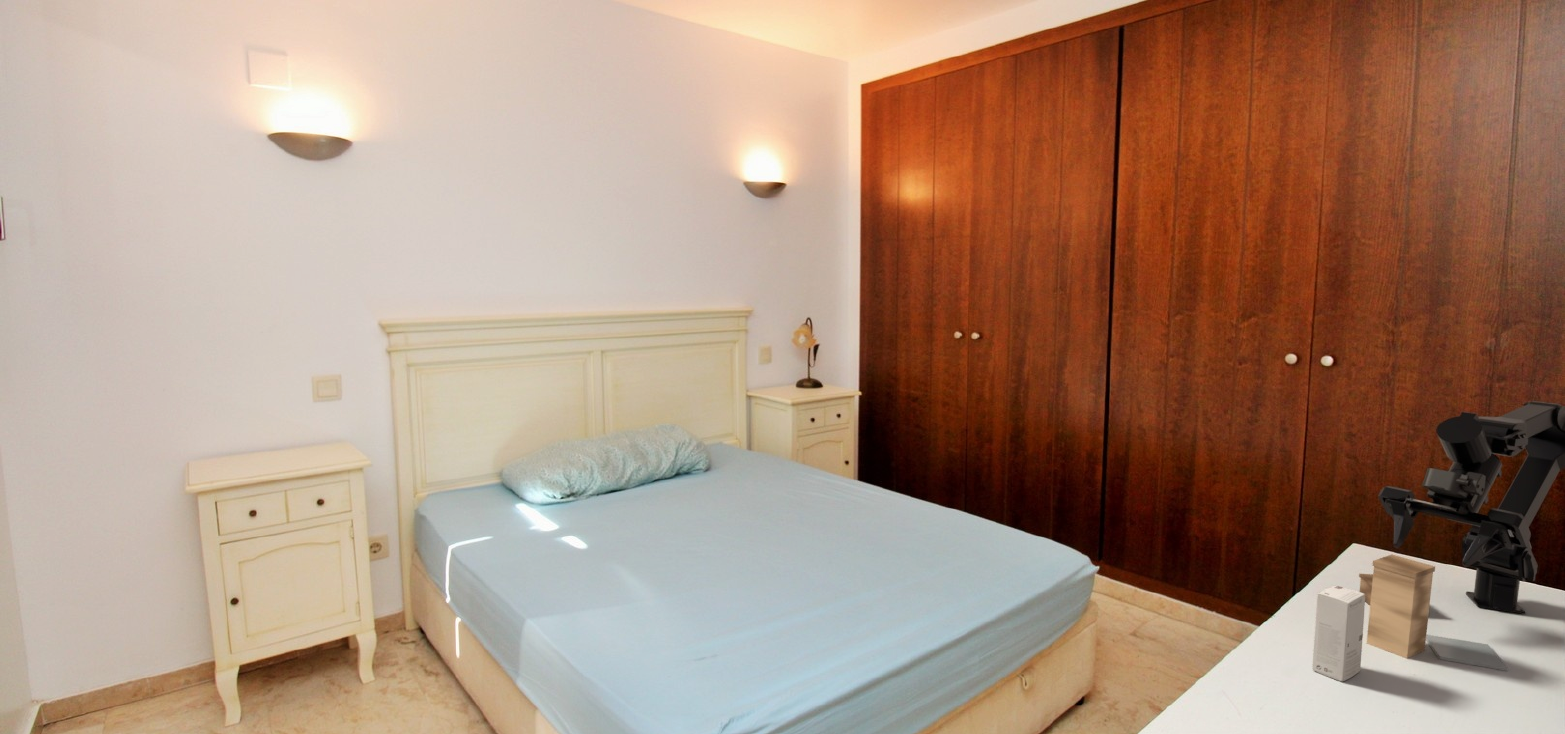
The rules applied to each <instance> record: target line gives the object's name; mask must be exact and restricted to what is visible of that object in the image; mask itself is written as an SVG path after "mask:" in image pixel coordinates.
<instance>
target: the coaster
mask: <svg viewBox="0 0 1565 734" xmlns="http://www.w3.org/2000/svg"><path fill="white" fill-rule="evenodd" d="M1426 643H1427V644H1428V645H1429V646H1430V649H1432V651H1433V652H1434V654H1435V656H1437V658H1438V659H1439V660H1443V661H1449V662H1454V663H1461V664H1466V665H1471V666H1478V667H1483V668H1489V669H1495V670H1500V671H1501V670H1502V671H1506V672H1507V671H1508V666H1507V665H1506V663H1505V662H1504V661H1503V660H1502V659H1501V658H1500V657H1499V656H1498V654H1496V652H1495V651H1494V650H1493V649H1492V648H1491V647H1490V645H1489V644H1487V643H1483V642H1476V641H1469V640H1465V639H1458V638H1457V639H1456V638H1450V637H1443V636H1438V635H1431V634H1428V633H1426Z"/></svg>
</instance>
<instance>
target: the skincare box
mask: <svg viewBox="0 0 1565 734" xmlns="http://www.w3.org/2000/svg"><path fill="white" fill-rule="evenodd" d="M1316 597H1317V598H1316V611H1315V623H1314V624H1315V625H1314V637H1313V638H1314V639H1313V649H1312V651H1313V653H1312V664H1311V665H1312V666H1311V667H1312V671H1314V672H1315V673H1318V674H1321V675H1322V676H1325V677H1329V679H1334V680H1336V681H1338V682H1345V681H1347V680H1349V679H1351V678H1353V677H1354V676H1356V675H1357V674H1359V672H1360V671H1361V663H1362V652H1363V650H1362V649H1363V638H1364V637H1363V636H1364V622H1365V606H1366V605H1365V603H1366V602H1365V594H1364V593H1361V592H1360V591H1359V590H1358V591H1357V590H1353V589H1349V588H1346V587H1342V586H1340V585H1339V586H1338V585H1333V586H1330V587H1327V588H1325V589H1323V590H1322V591H1321V592H1318V593H1317V596H1316Z"/></svg>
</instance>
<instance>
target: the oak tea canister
mask: <svg viewBox="0 0 1565 734" xmlns="http://www.w3.org/2000/svg"><path fill="white" fill-rule="evenodd" d="M1371 566H1372V567H1373V573H1372V574H1373V582H1372V592H1371V603H1370V605H1369V614H1368V624H1367V625H1368V626H1367V635H1366V644H1367V645H1370V646H1373V647H1374V648H1378V649H1381V650H1383V651H1386V652H1389V653H1391V654H1394V655H1396V656H1399V657H1402V658H1405V659H1409V658H1411V657H1413V656H1415V655H1417V654H1420V653H1422V652H1424V651H1425V650H1426V643H1427V641H1426V634H1428V633H1427V632H1428V623H1429V614H1430V613H1429V611H1430V604H1431V594H1432V585H1433V576H1434V572H1435V571H1436V566H1434V565H1431V564H1427V563H1424V562H1420V561H1417V560H1413V559H1409V558H1407V557H1403V556H1399V555H1395V554H1389V555H1385V556H1383V557H1380V558H1376V559H1374V560H1372V565H1371Z"/></svg>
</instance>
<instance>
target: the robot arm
mask: <svg viewBox="0 0 1565 734" xmlns="http://www.w3.org/2000/svg"><path fill="white" fill-rule="evenodd" d="M1436 434H1437V437H1438V439H1439V441H1440V444H1441V446H1442V447H1443V450H1444V452H1445V454H1446V457H1447V458H1448V459H1449V460H1451V461H1452V465H1451V466H1450V467H1449V469H1448V470H1443V469H1438V468H1431V467H1427V470H1426V473H1425V476H1424V479H1423V481H1422V484H1421V486H1422V488H1426V490H1428V491H1427V492H1426V495H1427V497H1428V498H1429V499H1432V501H1431V502H1428V501H1424V500H1419V499H1417V498H1416V497H1415V494H1414V492H1413V490H1409V489H1404V488H1400V487H1396V486H1391V485H1388V486H1384V487H1383V488H1381V489H1380V491H1379V494H1378V495H1377V497H1378V500H1379V501H1380V503H1381V505H1382V507H1383V509H1384V511H1385V513H1386V514H1387V515H1389V516H1391V518H1392V519H1393V547H1394V548H1395V549H1399V548H1400V547H1401V546H1402V545H1403V544H1404V542H1405V540H1406V539H1407V536H1409V534H1410V532H1411V531H1412V528H1413V527H1414V526H1415V521H1414V519H1416V518H1417V516H1418V514H1419V513H1421V514H1425V515H1430V516H1434V517H1438V518H1442V519H1446V520H1449V521H1450V520H1451V521H1453V522H1457V523H1462V524H1466V525H1467V524H1468V525H1471V527H1470V528H1469V529H1468V532H1466V533H1465V535H1464V536H1463V538H1462V540H1461V553H1462V561H1461V564H1462V566H1463V567H1464V568H1467V567H1471V568H1475V569H1476V573H1475V579H1474V590H1473V591H1465V595H1466V596H1467V597H1468V599H1470V600H1471V602H1473V604H1474V605H1475V606H1476V607H1479V608H1483V609H1488V610H1489V609H1490V610H1496V611H1503V612H1510V613H1517V614H1526V610H1525V609H1524V608H1523V607H1522V606H1521V605H1520V604H1519V603H1518V599H1519V598H1518V597H1519V589H1520V582H1526V581H1529V582H1534V581H1536V575H1537V573H1538V568H1539V566H1538V563H1537V560H1536V558H1535V556H1534V554H1533V551H1532V548H1533V547H1532V545H1531V542H1530V539H1531V535H1532V534H1531V530H1530V528H1529V527H1530V526H1531V524H1532V522H1533V520H1534V518H1535V517H1536V515H1537V514H1538V511H1539V510H1540V509H1541V505H1542V504H1543V502H1544V500H1545V499H1546V496H1547V494H1548V493H1549V491H1550V489H1551V488H1552V486H1553V484H1554V482H1555V480H1556V478H1557V476H1558V475H1559V472H1560V471H1562V470H1564V469H1565V405H1561V404H1560V403H1552V402H1543V401H1536V400H1531V401H1526V402H1525V403H1524V404H1523V405H1522V406H1521V407H1519V408H1516V409H1514V410H1511V411H1510V412H1507V413H1505V414H1502V415H1501V416H1479V415H1478V413H1474V412H1466V411H1462V412H1461V413H1460V415H1459V416H1454V417H1450V418H1447V419H1445V420H1444V421H1442V422H1440V423H1439V424H1438V425H1437V427H1436ZM1524 450H1525V451H1526V453H1527V455H1526V457H1525V459H1524V460H1523V462H1522V465H1521V466H1520V468H1519V470H1518V472H1517V473H1516V476H1515V477H1514V478H1513V480H1512V482H1511V483H1510V484H1511V485H1510V486H1509V487H1508V490H1507V492H1506V493H1505V495H1504V496H1503V499H1502V500H1501V502H1500V503H1499V505H1498V508H1495V507H1493V508H1489V510H1488V513H1487V514H1482V513H1479V511H1480V510H1481V507H1482V505H1483V504H1485V505H1487V504H1488V501H1489V497H1488V494H1489V492H1490V490H1491V488H1492V487H1493V484H1494V483H1495V480H1496V478H1501V477H1502V468H1503V463H1502V462H1501V459H1500V458H1499V456H1503V457H1513V458H1514V457H1515V456H1517V455H1518V454H1519V453H1521V452H1522V451H1524ZM1497 455H1499V456H1497Z"/></svg>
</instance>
